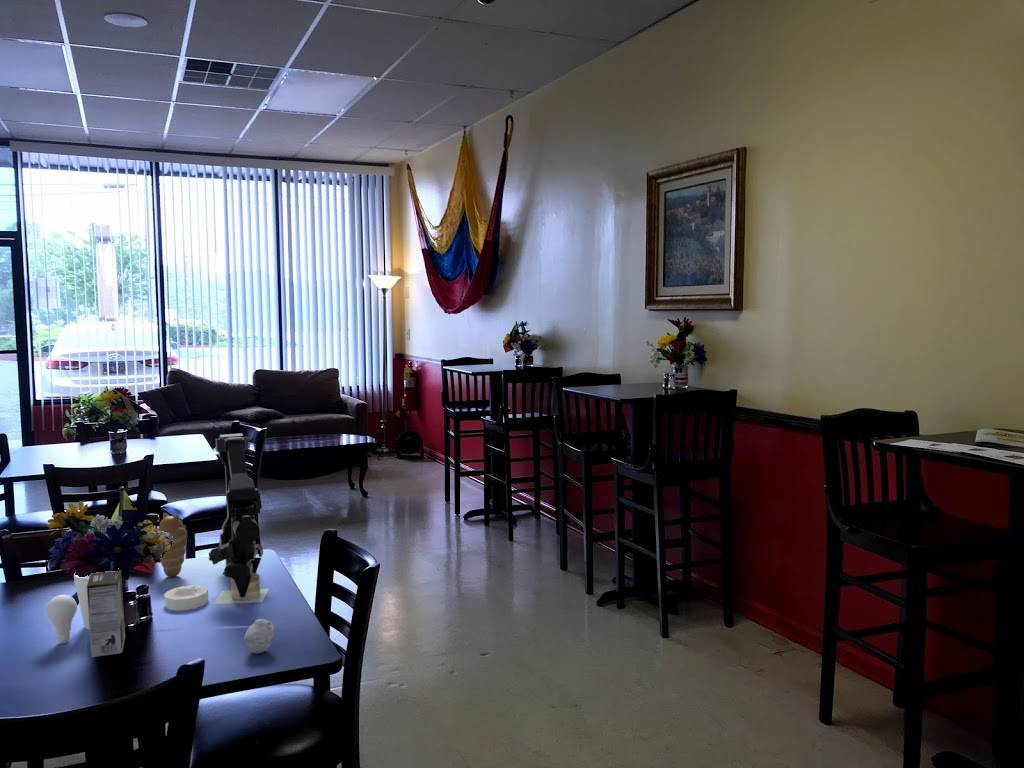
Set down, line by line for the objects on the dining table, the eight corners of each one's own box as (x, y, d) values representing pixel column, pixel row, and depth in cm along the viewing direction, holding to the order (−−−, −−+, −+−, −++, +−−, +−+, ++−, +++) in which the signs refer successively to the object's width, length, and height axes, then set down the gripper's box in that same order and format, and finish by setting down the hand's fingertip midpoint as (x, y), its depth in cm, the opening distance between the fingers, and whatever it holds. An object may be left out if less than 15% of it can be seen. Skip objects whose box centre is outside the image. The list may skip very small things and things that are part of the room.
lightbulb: (83, 642, 182) (80, 595, 181) (53, 651, 177) (50, 602, 176) (73, 635, 186) (70, 588, 185) (44, 643, 181) (41, 595, 180)
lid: (235, 592, 212) (234, 573, 212) (262, 590, 213) (261, 572, 213) (228, 601, 205) (228, 582, 205) (257, 600, 206) (256, 581, 206)
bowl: (172, 598, 209) (171, 586, 209) (212, 596, 210) (211, 584, 210) (160, 612, 199) (159, 600, 199) (202, 610, 200) (201, 598, 200)
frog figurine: (281, 648, 178) (280, 617, 177) (259, 660, 171) (258, 629, 171) (260, 643, 180) (258, 613, 180) (237, 656, 174) (236, 624, 173)
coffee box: (94, 642, 182) (90, 572, 180) (125, 637, 184) (122, 568, 183) (89, 658, 173) (85, 585, 172) (122, 653, 176) (119, 581, 174)
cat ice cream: (195, 574, 228) (192, 512, 226) (173, 583, 221) (170, 518, 219) (172, 570, 232) (169, 509, 230) (149, 578, 224) (146, 515, 223)
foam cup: (108, 632, 187) (105, 578, 186) (69, 632, 187) (65, 578, 186) (128, 617, 196) (125, 565, 195) (91, 617, 197) (88, 565, 195)
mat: (222, 592, 213) (222, 590, 213) (269, 589, 215) (269, 588, 215) (213, 605, 204) (213, 604, 203) (262, 603, 205) (262, 602, 205)
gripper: (219, 525, 216) (222, 581, 217) (201, 545, 198) (204, 607, 199) (262, 523, 217) (264, 579, 219) (248, 543, 199) (250, 604, 200)
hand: (245, 592), depth 209 cm, fingers closed on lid, 7 cm apart
